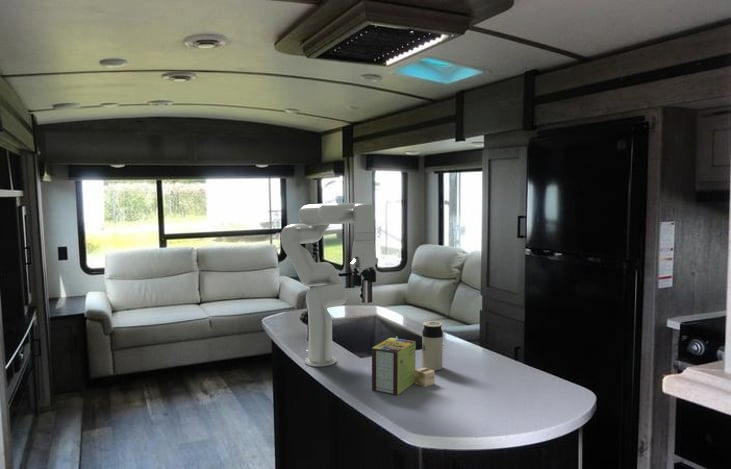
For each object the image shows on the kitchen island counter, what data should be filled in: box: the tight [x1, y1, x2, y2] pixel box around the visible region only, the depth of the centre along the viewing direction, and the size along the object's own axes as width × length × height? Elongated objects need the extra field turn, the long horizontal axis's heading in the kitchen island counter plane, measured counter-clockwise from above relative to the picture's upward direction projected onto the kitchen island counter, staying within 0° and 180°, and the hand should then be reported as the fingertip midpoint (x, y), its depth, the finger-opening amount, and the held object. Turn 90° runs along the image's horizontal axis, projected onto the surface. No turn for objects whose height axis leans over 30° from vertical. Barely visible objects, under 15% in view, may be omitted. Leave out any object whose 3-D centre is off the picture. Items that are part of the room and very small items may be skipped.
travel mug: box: [421, 320, 444, 372], centre depth 217 cm, size 8×8×18 cm
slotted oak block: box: [414, 367, 436, 388], centre depth 200 cm, size 5×5×5 cm
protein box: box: [371, 337, 417, 396], centre depth 197 cm, size 10×15×16 cm
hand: (364, 283), depth 201 cm, fingers open, 9 cm apart
